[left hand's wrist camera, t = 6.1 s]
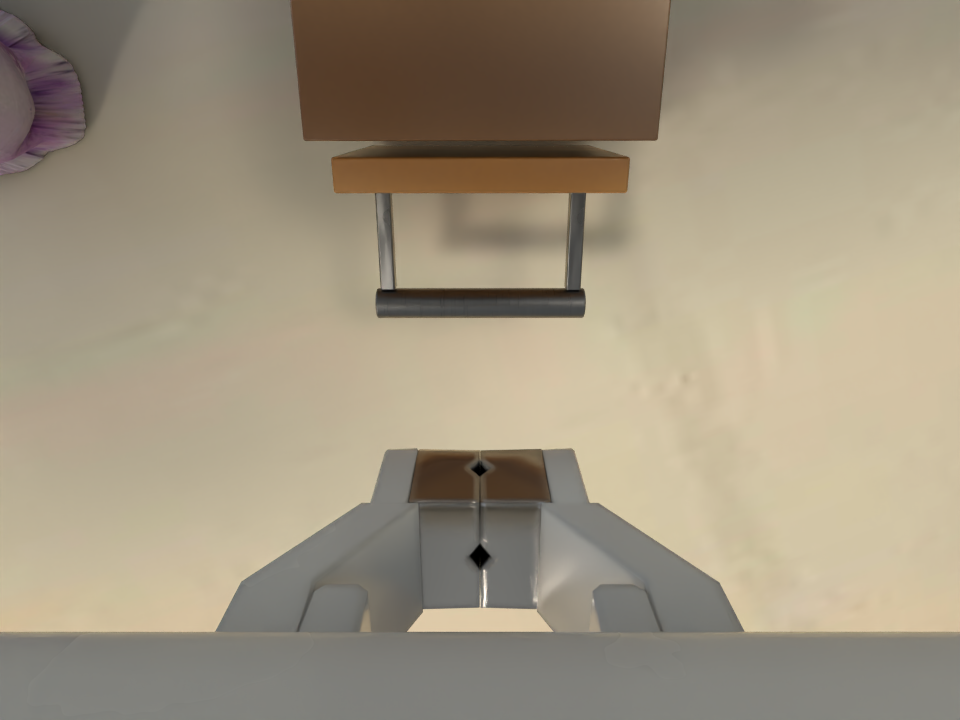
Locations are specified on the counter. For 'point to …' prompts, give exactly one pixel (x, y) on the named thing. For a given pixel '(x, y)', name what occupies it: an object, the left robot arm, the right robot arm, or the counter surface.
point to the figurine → (34, 98)
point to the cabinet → (480, 69)
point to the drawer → (480, 174)
